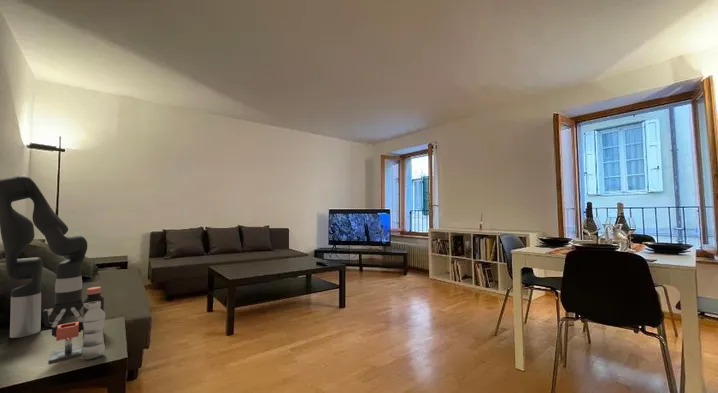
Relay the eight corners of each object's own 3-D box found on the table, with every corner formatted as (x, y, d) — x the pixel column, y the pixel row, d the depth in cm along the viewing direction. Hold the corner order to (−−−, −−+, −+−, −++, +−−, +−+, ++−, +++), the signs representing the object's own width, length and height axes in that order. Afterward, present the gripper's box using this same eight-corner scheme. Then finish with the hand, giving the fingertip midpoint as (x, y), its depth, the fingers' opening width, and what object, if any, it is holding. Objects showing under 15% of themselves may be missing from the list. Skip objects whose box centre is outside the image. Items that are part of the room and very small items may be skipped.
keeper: (50, 353, 117) (51, 335, 117) (85, 345, 124) (86, 328, 124) (48, 363, 110) (48, 343, 110) (86, 354, 116) (86, 335, 117)
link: (56, 341, 113) (56, 329, 113) (57, 336, 117) (57, 325, 117) (78, 336, 117) (78, 325, 117) (78, 331, 121) (79, 321, 121)
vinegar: (104, 334, 135) (104, 288, 136) (83, 339, 131) (84, 291, 131) (102, 329, 140) (103, 285, 141) (82, 334, 135) (83, 288, 136)
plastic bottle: (85, 355, 116) (86, 301, 116) (108, 352, 118) (108, 299, 119) (77, 363, 110) (78, 306, 110) (100, 359, 112) (101, 303, 113)
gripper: (40, 294, 110) (39, 343, 109) (94, 287, 119) (93, 331, 119) (42, 290, 116) (41, 336, 115) (93, 284, 125) (93, 326, 124)
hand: (68, 333), depth 117 cm, fingers closed on link, 6 cm apart
